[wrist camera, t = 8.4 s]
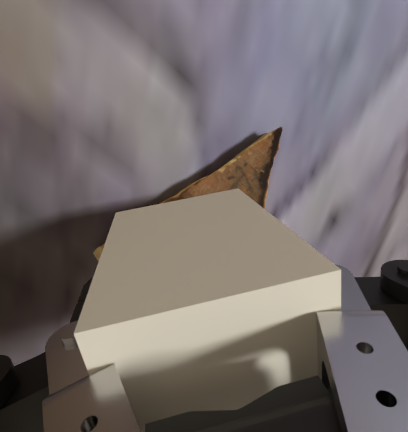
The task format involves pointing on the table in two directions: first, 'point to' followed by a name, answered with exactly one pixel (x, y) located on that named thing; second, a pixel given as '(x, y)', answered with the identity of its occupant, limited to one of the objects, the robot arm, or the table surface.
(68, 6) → the table surface
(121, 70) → the table surface
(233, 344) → the cream block
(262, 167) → the shard
